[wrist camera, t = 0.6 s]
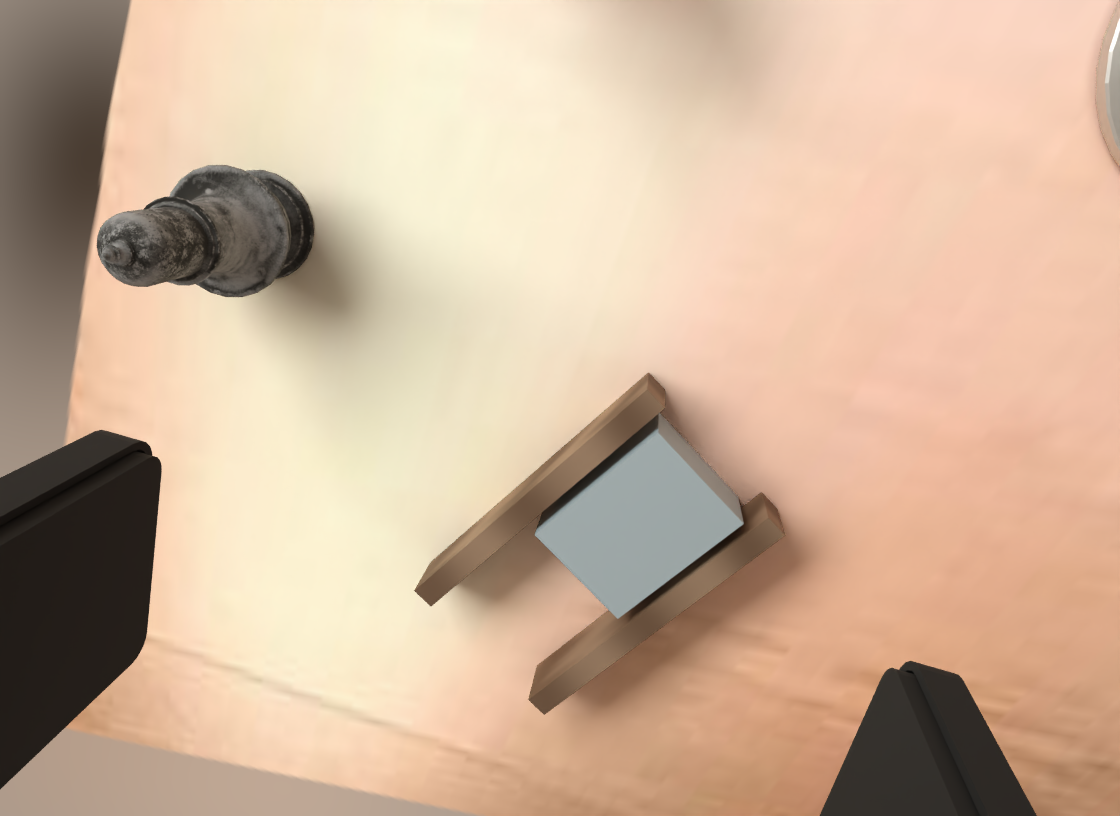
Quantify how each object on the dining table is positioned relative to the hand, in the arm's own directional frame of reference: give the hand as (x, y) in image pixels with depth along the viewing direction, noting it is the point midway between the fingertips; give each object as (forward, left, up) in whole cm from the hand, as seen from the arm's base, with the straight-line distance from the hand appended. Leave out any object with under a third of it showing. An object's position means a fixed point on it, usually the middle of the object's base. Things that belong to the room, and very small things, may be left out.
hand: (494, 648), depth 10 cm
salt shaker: (+11, -14, -31) cm, 35 cm away
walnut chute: (+10, +9, -30) cm, 33 cm away
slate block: (+7, +9, -31) cm, 33 cm away
